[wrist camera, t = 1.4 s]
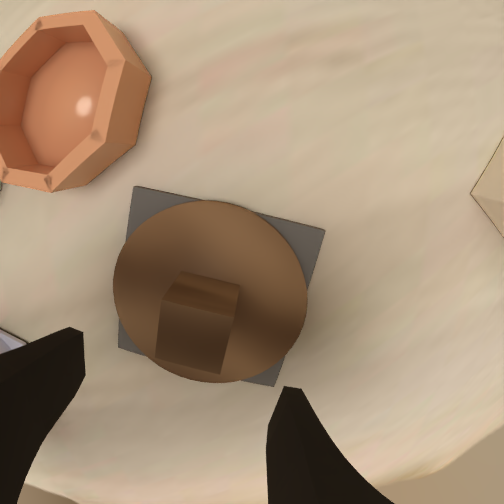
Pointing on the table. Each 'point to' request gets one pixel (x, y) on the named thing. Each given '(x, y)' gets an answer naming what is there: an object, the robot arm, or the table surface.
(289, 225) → the mat
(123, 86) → the bowl terracotta
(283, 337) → the lid
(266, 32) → the table surface
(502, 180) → the milk
